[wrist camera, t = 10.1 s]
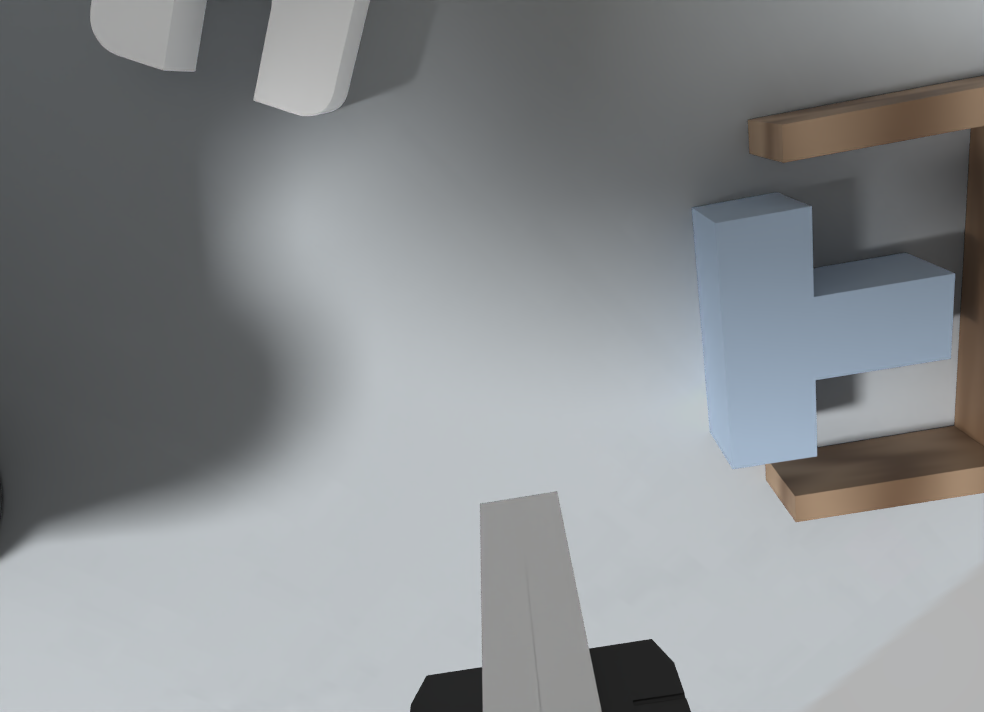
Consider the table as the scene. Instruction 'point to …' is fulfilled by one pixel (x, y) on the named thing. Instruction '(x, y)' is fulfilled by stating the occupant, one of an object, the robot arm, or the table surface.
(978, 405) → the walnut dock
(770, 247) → the t block
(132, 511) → the table surface
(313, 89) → the white slotted block
